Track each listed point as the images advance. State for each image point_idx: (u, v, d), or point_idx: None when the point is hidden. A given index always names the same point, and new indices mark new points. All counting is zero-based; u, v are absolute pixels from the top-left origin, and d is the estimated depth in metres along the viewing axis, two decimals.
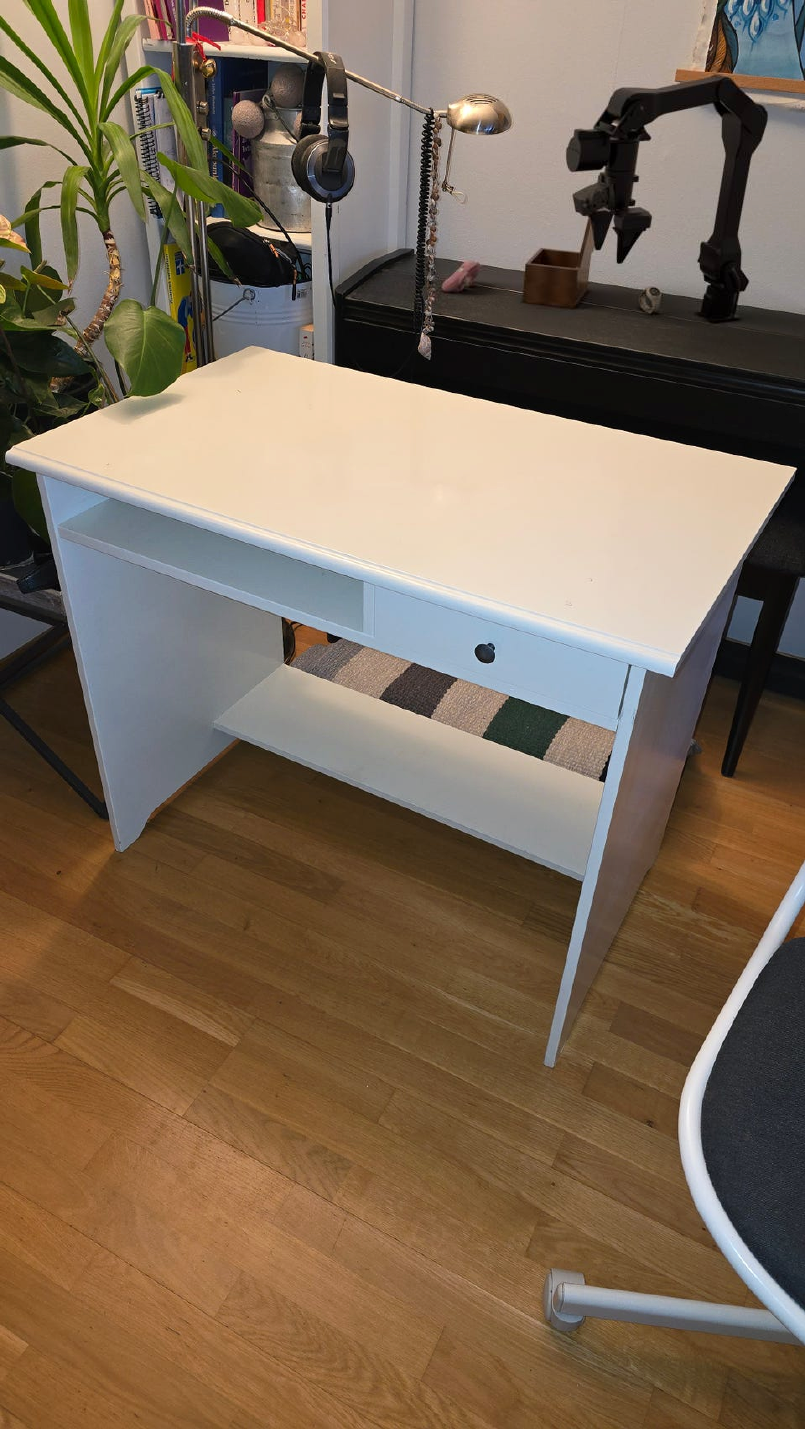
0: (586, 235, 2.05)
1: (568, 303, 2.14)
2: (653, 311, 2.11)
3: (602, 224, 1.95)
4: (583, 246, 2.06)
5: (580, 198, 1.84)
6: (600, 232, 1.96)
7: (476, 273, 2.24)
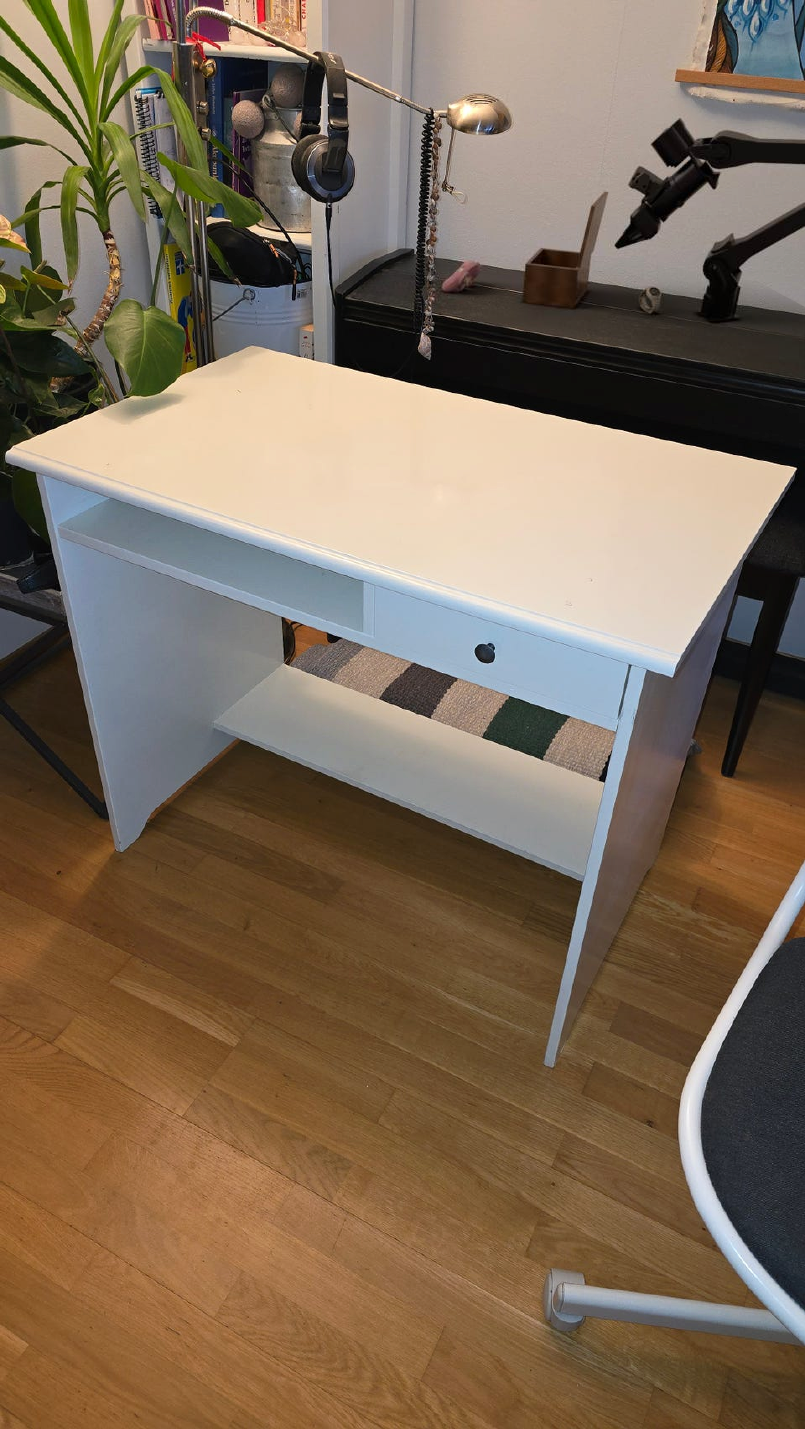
0: (586, 235, 2.05)
1: (568, 303, 2.14)
2: (653, 311, 2.11)
3: None
4: (583, 246, 2.06)
5: (638, 170, 1.98)
6: None
7: (476, 273, 2.24)
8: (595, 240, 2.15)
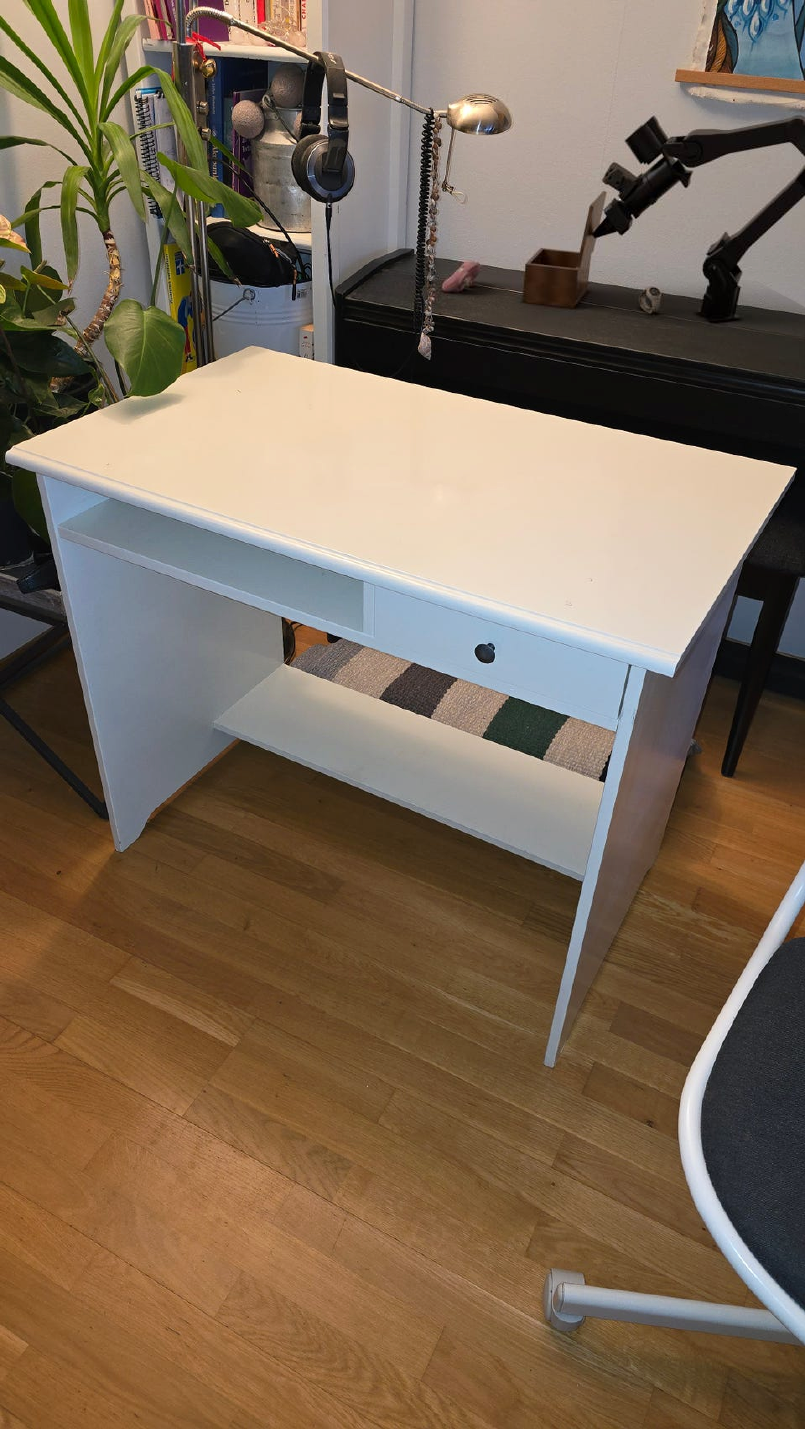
0: (585, 235, 2.05)
1: (568, 303, 2.14)
2: (653, 311, 2.11)
3: None
4: (582, 246, 2.06)
5: (611, 166, 2.00)
6: None
7: (476, 273, 2.24)
8: (595, 240, 2.15)
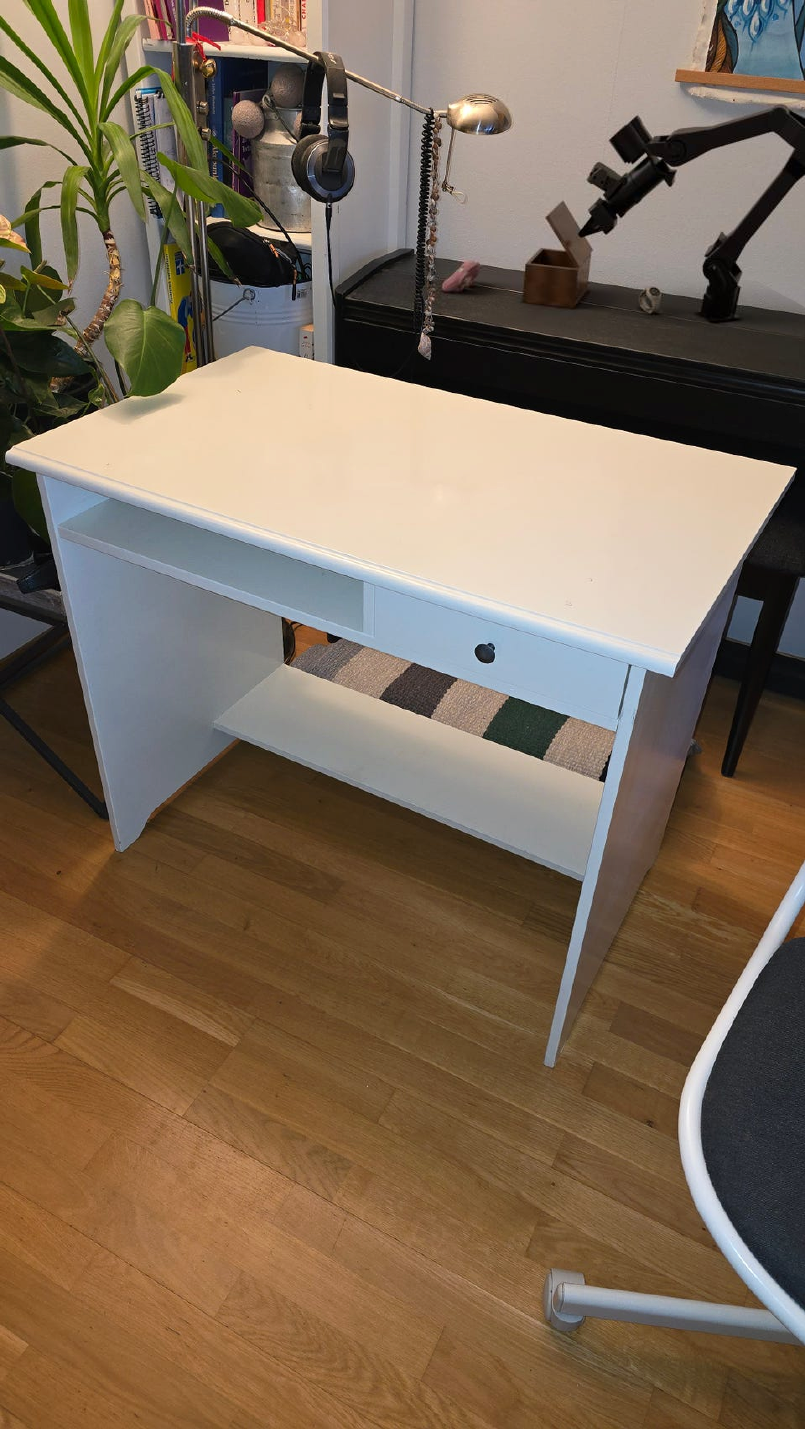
0: (561, 240, 2.07)
1: (568, 303, 2.14)
2: (653, 311, 2.11)
3: None
4: (567, 249, 2.08)
5: (596, 165, 2.01)
6: None
7: (476, 273, 2.24)
8: (585, 240, 2.16)
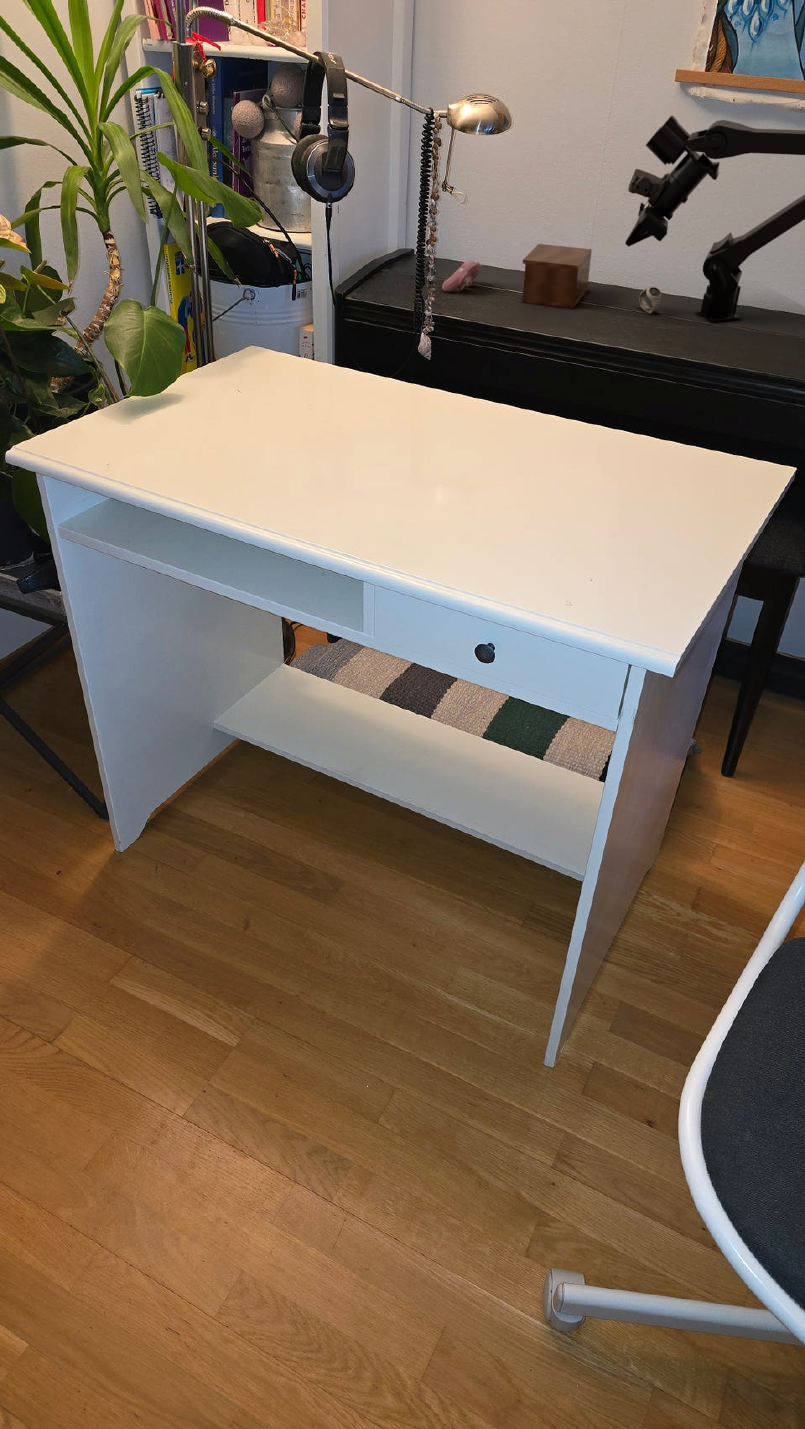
0: (548, 264, 2.11)
1: (568, 303, 2.14)
2: (653, 311, 2.11)
3: None
4: (558, 265, 2.10)
5: (635, 174, 1.98)
6: None
7: (476, 273, 2.24)
8: (579, 249, 2.18)
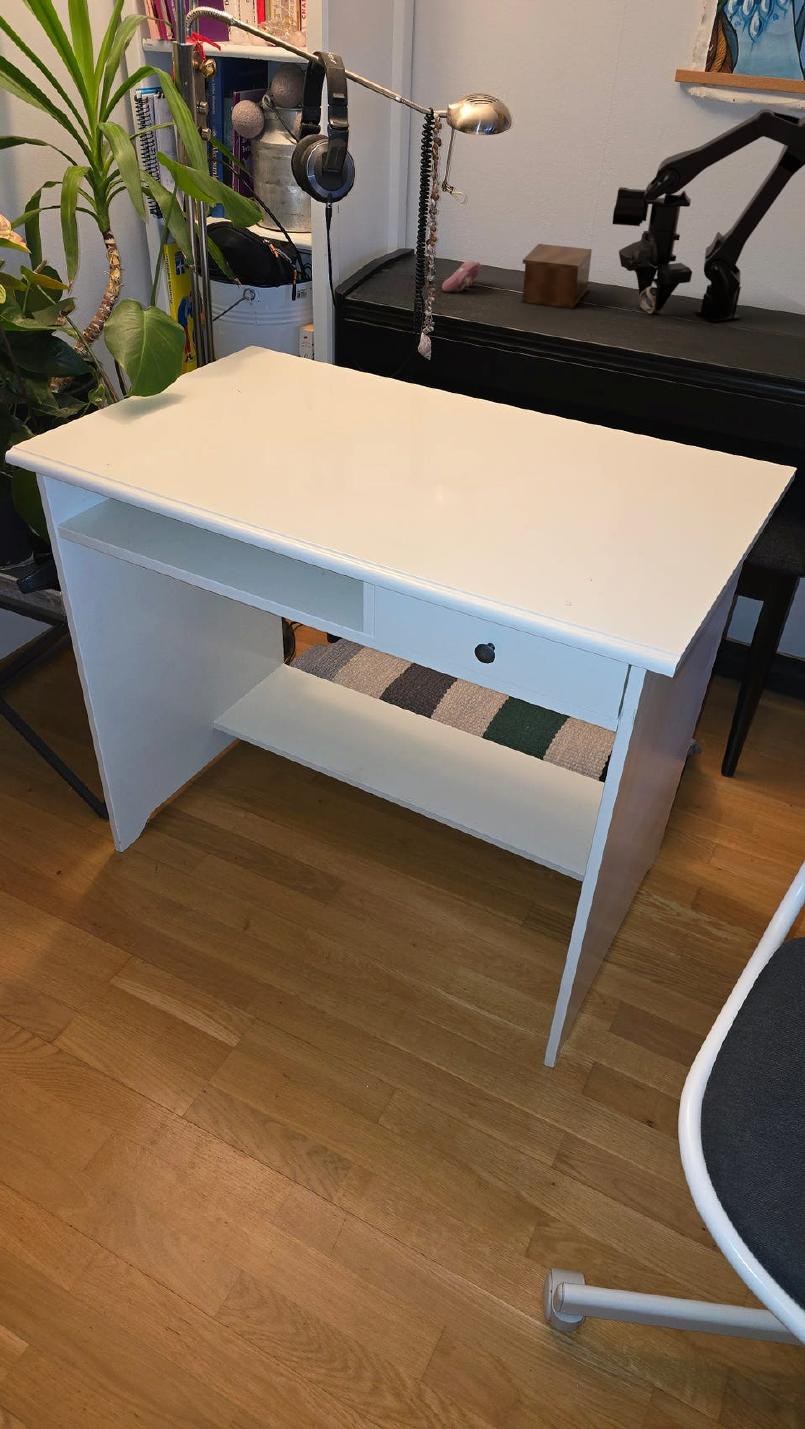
0: (548, 264, 2.11)
1: (568, 303, 2.14)
2: (653, 311, 2.11)
3: (647, 277, 2.13)
4: (558, 265, 2.10)
5: (626, 255, 2.03)
6: (645, 285, 2.13)
7: (476, 273, 2.24)
8: (579, 249, 2.18)
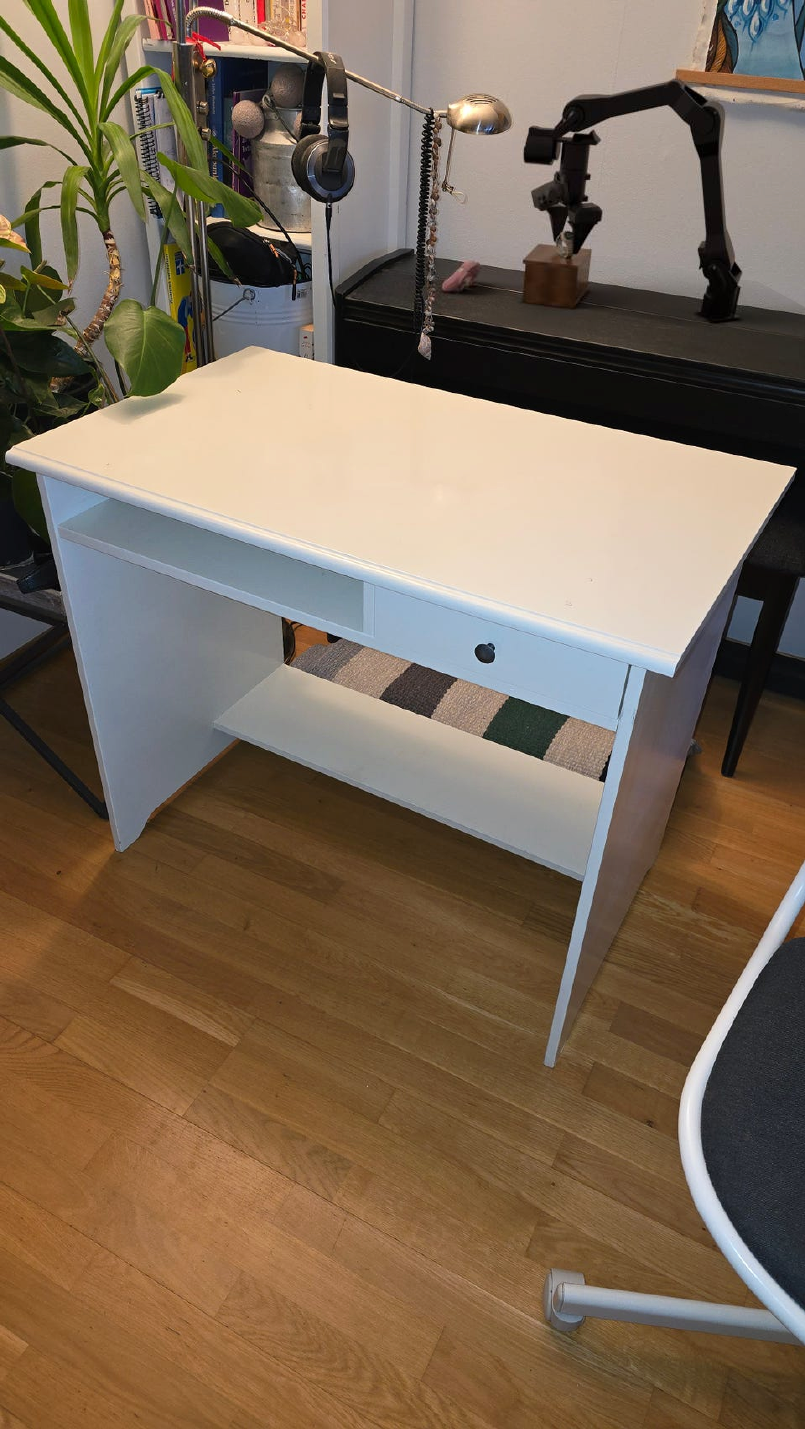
0: (548, 264, 2.11)
1: (568, 303, 2.14)
2: (568, 255, 2.12)
3: (559, 218, 2.14)
4: (558, 265, 2.10)
5: (537, 195, 2.03)
6: (558, 226, 2.15)
7: (476, 273, 2.24)
8: None
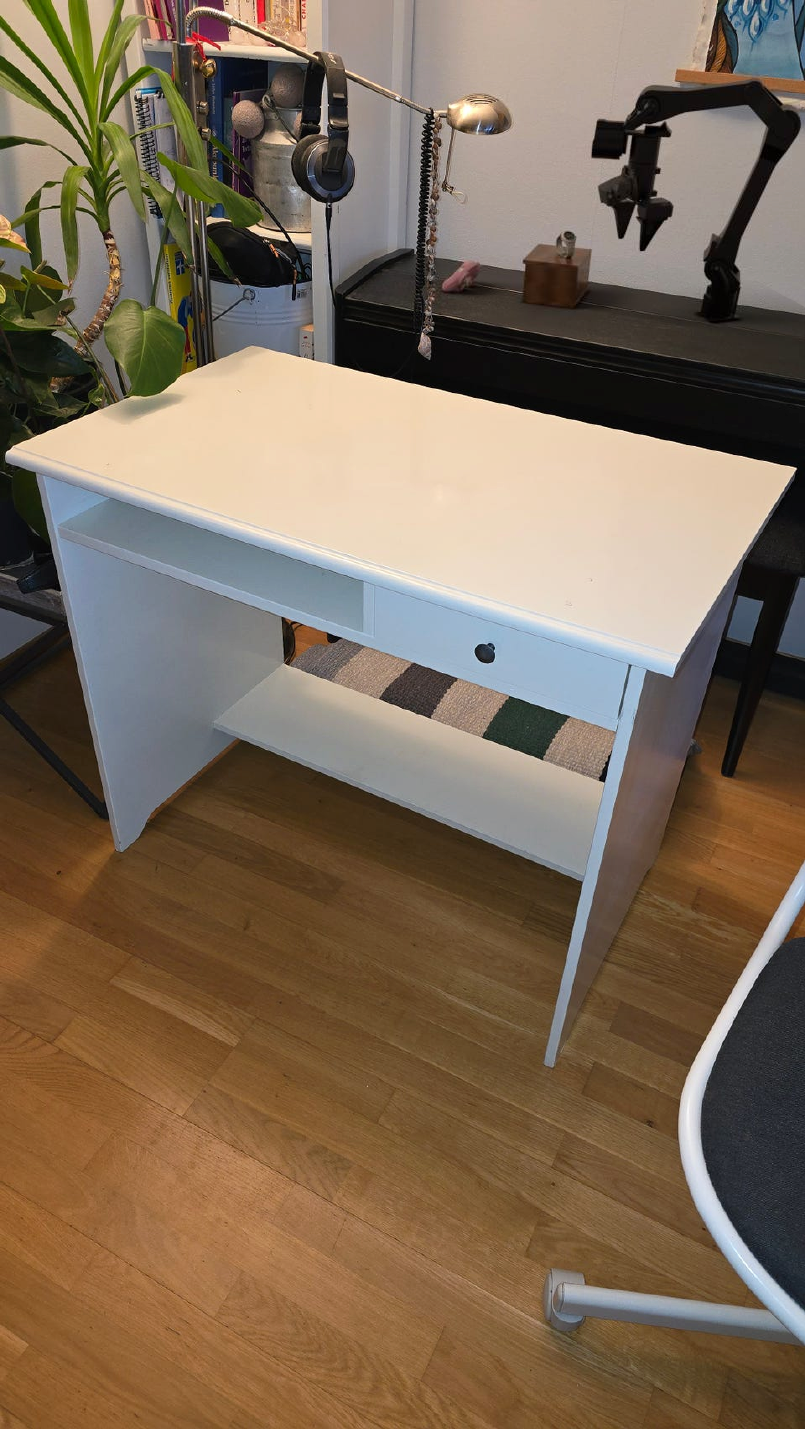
0: (548, 264, 2.11)
1: (568, 303, 2.14)
2: (568, 255, 2.12)
3: (624, 214, 2.07)
4: (558, 265, 2.10)
5: (605, 189, 1.96)
6: (623, 222, 2.07)
7: (476, 273, 2.24)
8: (579, 249, 2.18)
